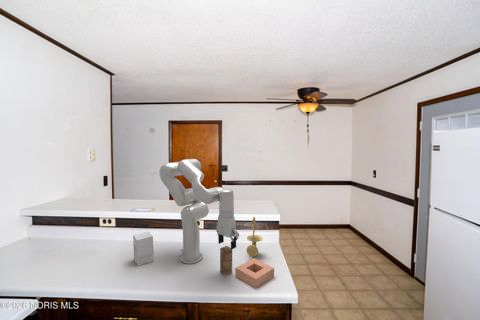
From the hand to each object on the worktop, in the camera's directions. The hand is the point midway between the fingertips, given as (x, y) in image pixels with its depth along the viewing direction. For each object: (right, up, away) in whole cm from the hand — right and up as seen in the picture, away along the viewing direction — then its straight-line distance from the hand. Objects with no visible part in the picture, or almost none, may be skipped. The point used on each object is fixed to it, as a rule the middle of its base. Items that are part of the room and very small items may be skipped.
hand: (227, 245), depth 125 cm
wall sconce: (+15, -14, +18) cm, 27 cm away
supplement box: (-49, -14, +13) cm, 52 cm away
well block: (+14, -15, -2) cm, 21 cm away
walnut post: (-1, -15, +2) cm, 15 cm away
